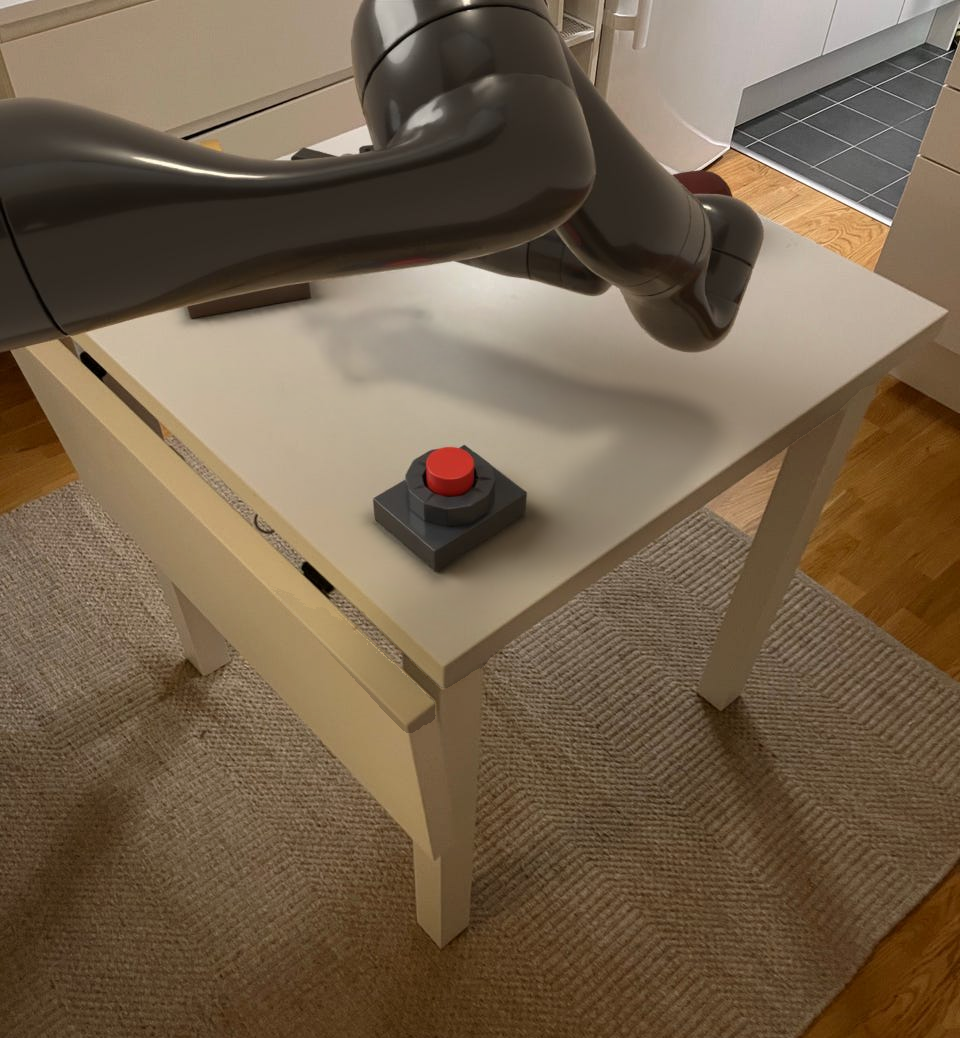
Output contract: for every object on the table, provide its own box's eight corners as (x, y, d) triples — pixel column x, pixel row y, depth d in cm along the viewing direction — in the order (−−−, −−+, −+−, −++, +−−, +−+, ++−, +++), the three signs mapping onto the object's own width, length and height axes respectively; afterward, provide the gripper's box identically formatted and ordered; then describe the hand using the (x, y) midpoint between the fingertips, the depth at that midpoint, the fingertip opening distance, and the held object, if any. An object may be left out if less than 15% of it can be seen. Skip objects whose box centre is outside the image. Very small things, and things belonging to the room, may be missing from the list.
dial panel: (160, 238, 97) (155, 217, 95) (284, 218, 99) (281, 198, 98) (183, 320, 89) (178, 298, 87) (317, 296, 91) (314, 275, 90)
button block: (435, 572, 71) (434, 533, 68) (374, 519, 74) (370, 479, 71) (525, 513, 75) (529, 474, 72) (464, 465, 78) (464, 425, 75)
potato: (630, 220, 101) (639, 161, 96) (712, 210, 102) (725, 151, 97) (657, 260, 96) (668, 201, 91) (742, 249, 98) (757, 189, 93)
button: (448, 504, 70) (447, 486, 69) (417, 479, 72) (416, 460, 70) (483, 482, 72) (484, 464, 70) (452, 458, 73) (452, 439, 72)
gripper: (530, 129, 76) (334, 81, 80) (451, 211, 69) (241, 153, 73) (525, 222, 82) (343, 172, 86) (452, 306, 74) (257, 247, 79)
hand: (296, 164), depth 80 cm, fingers closed
